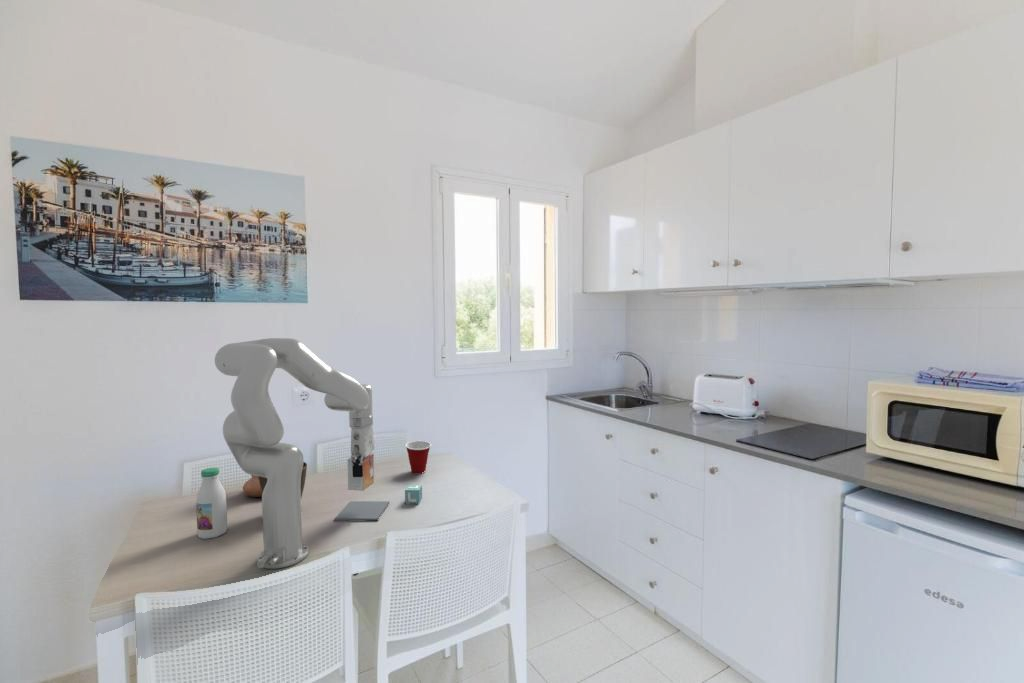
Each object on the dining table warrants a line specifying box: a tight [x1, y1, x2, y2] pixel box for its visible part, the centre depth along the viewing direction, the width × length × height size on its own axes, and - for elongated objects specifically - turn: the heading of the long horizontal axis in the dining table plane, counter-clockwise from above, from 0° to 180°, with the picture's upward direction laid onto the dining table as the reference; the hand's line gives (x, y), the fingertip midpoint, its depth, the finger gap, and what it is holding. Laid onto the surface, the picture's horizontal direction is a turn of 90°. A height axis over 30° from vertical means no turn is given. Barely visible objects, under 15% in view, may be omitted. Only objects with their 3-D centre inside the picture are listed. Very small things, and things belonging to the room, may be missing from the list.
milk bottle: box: [195, 467, 228, 540], centre depth 143 cm, size 8×8×20 cm
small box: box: [346, 452, 375, 492], centre depth 158 cm, size 8×6×10 cm
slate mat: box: [334, 500, 390, 522], centre depth 159 cm, size 14×14×1 cm
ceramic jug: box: [242, 474, 262, 498], centre depth 177 cm, size 18×14×14 cm
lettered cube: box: [404, 484, 423, 504], centre depth 168 cm, size 5×5×5 cm
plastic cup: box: [405, 440, 432, 474], centre depth 200 cm, size 11×11×12 cm
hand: (362, 471), depth 158 cm, fingers closed on small box, 8 cm apart
